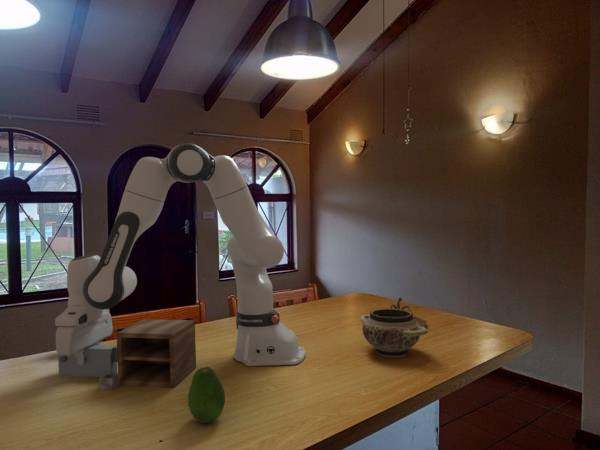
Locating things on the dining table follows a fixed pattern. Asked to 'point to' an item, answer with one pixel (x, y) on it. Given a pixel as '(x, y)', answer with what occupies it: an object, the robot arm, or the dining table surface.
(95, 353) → the grey box
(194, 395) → the avocado
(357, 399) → the dining table surface
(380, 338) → the ceramic bowl
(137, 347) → the cabinet
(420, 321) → the plant
